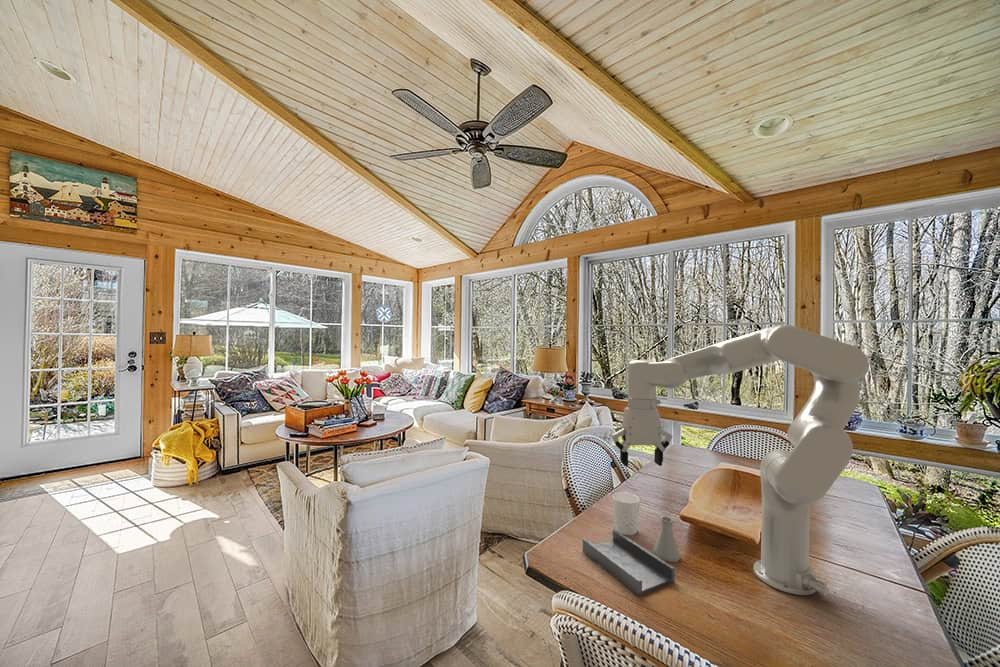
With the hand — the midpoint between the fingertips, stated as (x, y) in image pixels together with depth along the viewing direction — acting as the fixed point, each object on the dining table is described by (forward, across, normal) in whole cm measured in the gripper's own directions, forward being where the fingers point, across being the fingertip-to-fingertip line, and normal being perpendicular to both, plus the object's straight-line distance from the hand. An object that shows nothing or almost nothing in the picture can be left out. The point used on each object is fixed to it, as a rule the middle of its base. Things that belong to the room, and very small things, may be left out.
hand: (641, 464), depth 108 cm
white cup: (+24, 0, -11) cm, 26 cm away
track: (+24, +8, +8) cm, 26 cm away
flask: (+24, -6, +3) cm, 25 cm away
